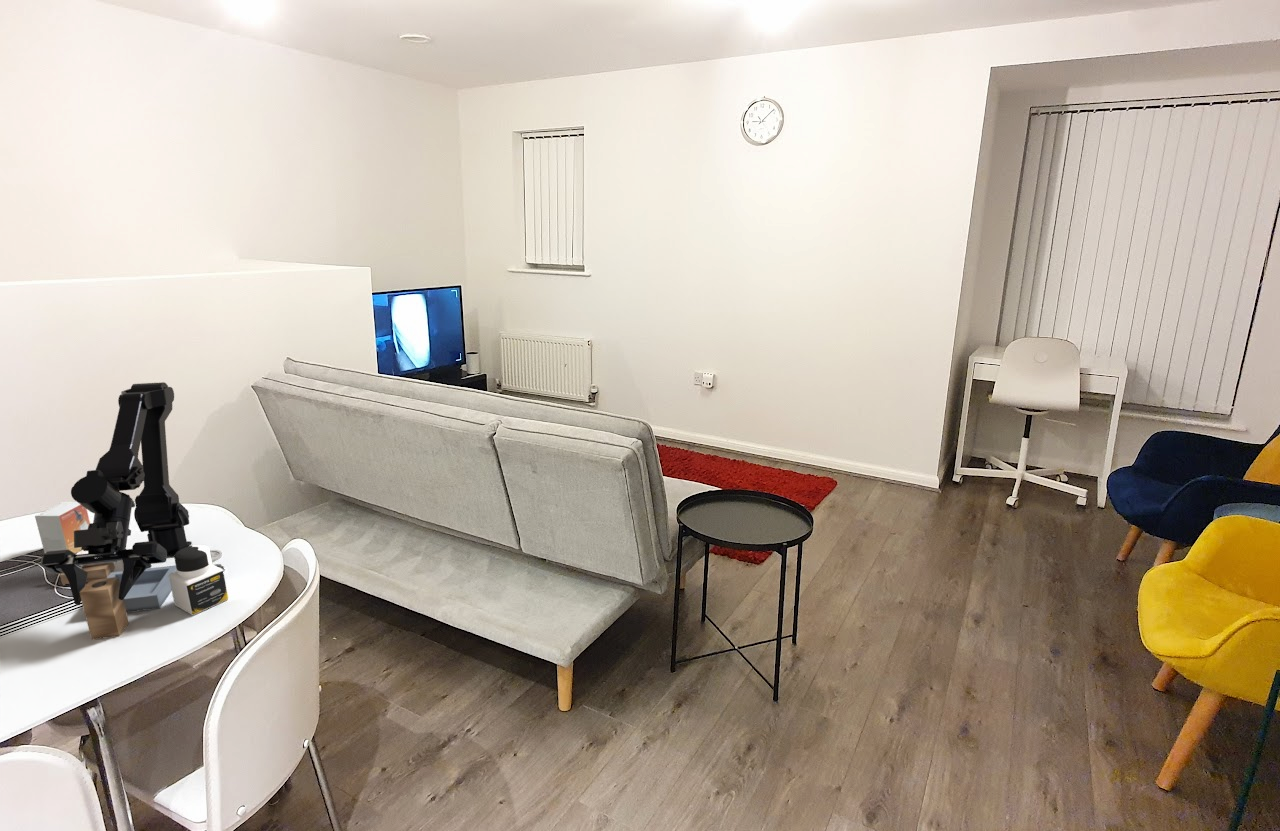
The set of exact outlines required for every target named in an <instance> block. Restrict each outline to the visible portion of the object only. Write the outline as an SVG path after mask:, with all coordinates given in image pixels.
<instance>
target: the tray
mask: <svg viewBox="0 0 1280 831" xmlns="http://www.w3.org/2000/svg"><path fill="white" fill-rule="evenodd" d="M176 571H177V568H176V564H174V565H167V566H158V567H151V568H147V569H145V571H144V572H143V573H142V574H141V575H140V577H139V578H138V579H137V580H136V582H135V583H134V584H133V586H132V587H131V589H130V590H129V592H128V593H127V595H126V596H125V598H124V599H123V600H124V604H125V608H126V612H127V613H132V612H142V611H143V612H144V611H148V610H158V609H161V608H162V606H163V604H164V603H165V601H166V600H167V598H168V596H170V594H171V593H172V590H171V585H170V580H169V574H171V573H173V572H176ZM122 573H123V570H121V571H113V572H111V573H110V574H109V576H108V577H107V578H113V577H118V579H119V583H121V578H122Z"/></svg>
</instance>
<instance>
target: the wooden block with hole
mask: <svg viewBox="0 0 1280 831" xmlns="http://www.w3.org/2000/svg"><path fill="white" fill-rule="evenodd" d="M86 583H87V584H85V587H84V588H83V589H82V590H81V591H80V592H79V593H80V597H81V604H82V608H83V611H84V612H83V613H84V616H85V620H86V623H87V627H88V631H89V635H90V639H91V641H92V640H100V639H108V638H115V637H120V636H121V635H122V633H123V632H124V631H125V629H126V628H127V626H128V625H129V623H130V622H129V618H128V612H126V608H125V604H124V600H120V599H119V588H120V583H119V579H118V577H113V578H104V579H95V580H90V581H89V582H86Z"/></svg>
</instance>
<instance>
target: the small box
mask: <svg viewBox="0 0 1280 831" xmlns="http://www.w3.org/2000/svg"><path fill="white" fill-rule="evenodd" d="M34 518H35V522H36V525H37V530H38V533H39V537H40V541H41V545H42V549H43V552H44V554H45V553H46V552H49V551H59V550H70V551H72V552H73V553H75V554H77V553H79V552H81V551H83V550H82V549H81V548H82V547H78V548H74V531H75V530H85V529H88V526H89V524H90V523H91V521H90V518H89V514H88V510H87V509H86V508H85V507H83V506H82V505H81V504H79V503H78V502H77V501H61V502H59V503H58V504H56V505H54V506H52V507H50V508H49V509H47V510H44V511H43V512H41V513H39V514H36V515H35V516H34Z"/></svg>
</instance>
